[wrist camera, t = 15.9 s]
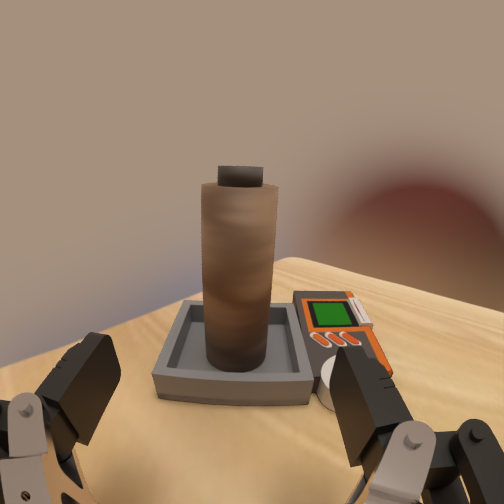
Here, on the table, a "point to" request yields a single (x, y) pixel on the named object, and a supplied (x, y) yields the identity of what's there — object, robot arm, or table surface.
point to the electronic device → (333, 333)
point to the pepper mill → (237, 266)
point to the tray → (229, 383)
